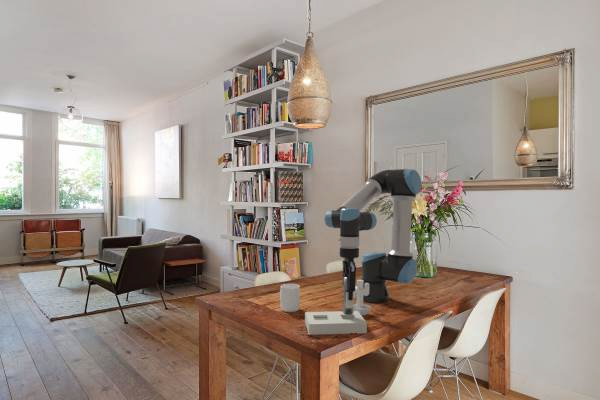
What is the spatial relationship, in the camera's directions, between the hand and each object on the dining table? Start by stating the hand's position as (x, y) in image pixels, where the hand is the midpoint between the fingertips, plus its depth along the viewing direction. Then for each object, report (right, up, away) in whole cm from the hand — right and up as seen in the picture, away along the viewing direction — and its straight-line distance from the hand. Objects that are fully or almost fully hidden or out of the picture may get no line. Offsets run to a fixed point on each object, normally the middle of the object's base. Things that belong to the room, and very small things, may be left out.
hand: (348, 305), depth 148 cm
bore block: (-5, -8, 0) cm, 10 cm away
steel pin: (0, -3, 0) cm, 3 cm away
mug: (-25, -8, +23) cm, 35 cm away
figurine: (+7, -8, +16) cm, 19 cm away
